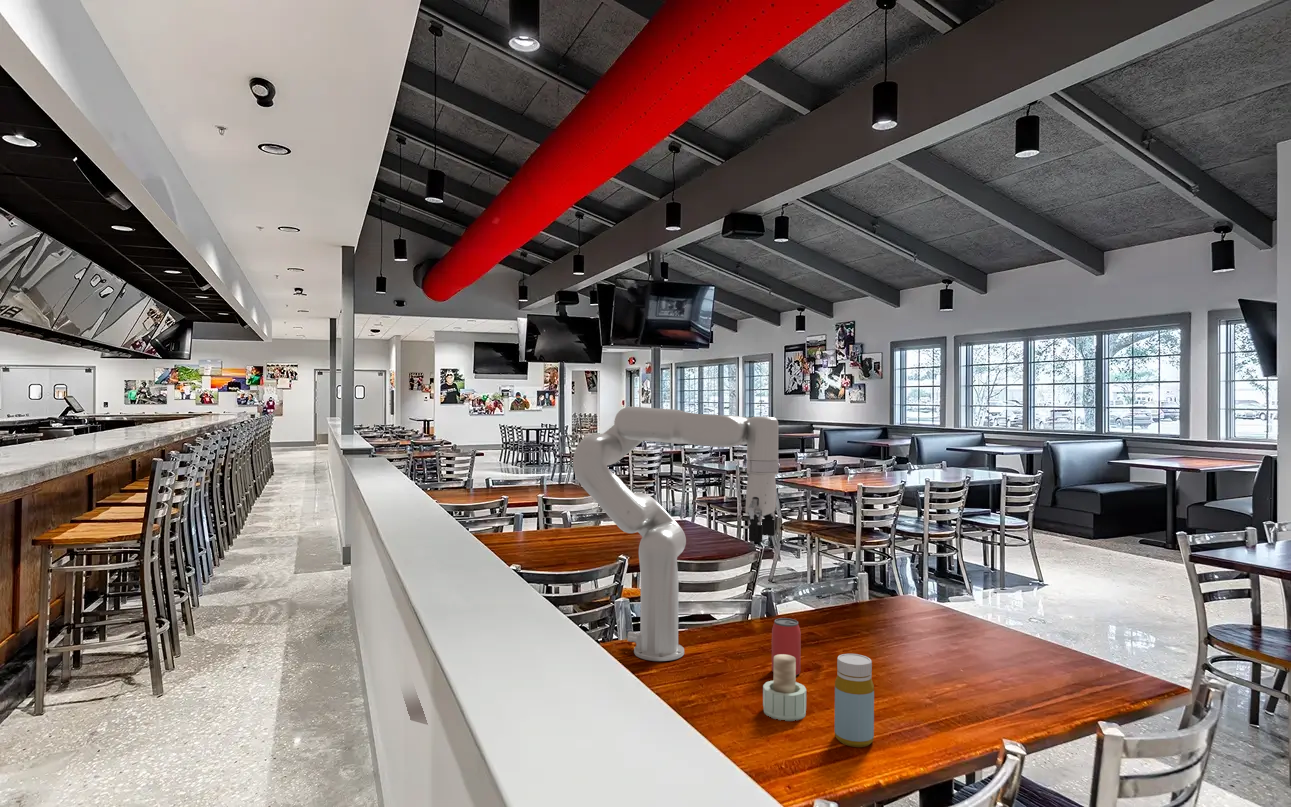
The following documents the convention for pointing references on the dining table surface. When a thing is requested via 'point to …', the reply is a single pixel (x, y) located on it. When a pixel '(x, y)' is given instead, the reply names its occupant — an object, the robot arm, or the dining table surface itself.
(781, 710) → the cup
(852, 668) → the bottle
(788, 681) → the plug
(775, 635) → the beer can
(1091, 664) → the dining table surface
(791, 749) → the dining table surface
